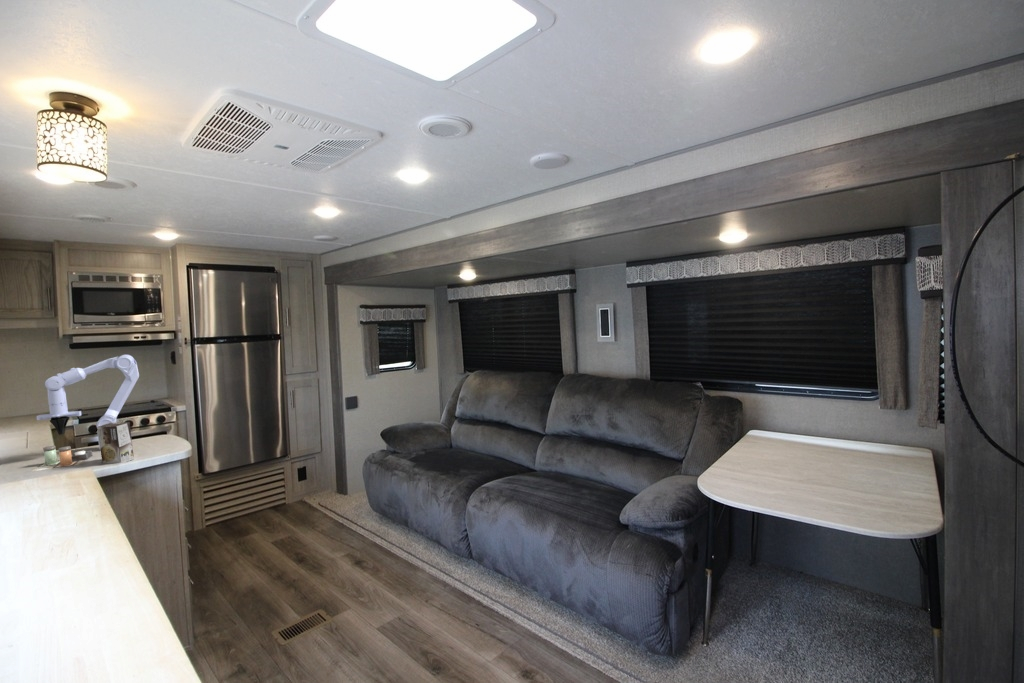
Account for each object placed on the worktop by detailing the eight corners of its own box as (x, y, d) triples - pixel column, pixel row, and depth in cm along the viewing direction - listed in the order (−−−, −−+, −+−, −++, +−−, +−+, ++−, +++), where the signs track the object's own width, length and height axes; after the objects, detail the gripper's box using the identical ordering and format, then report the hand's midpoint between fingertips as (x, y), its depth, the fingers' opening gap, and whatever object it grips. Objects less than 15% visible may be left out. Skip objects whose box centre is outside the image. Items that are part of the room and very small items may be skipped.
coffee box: (135, 458, 204) (130, 421, 202) (121, 464, 197) (116, 426, 196) (115, 459, 204) (111, 422, 203) (101, 464, 198) (96, 426, 197)
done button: (87, 456, 207) (86, 450, 206) (84, 459, 203) (83, 452, 203) (77, 458, 205) (76, 451, 205) (74, 460, 202) (73, 453, 202)
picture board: (92, 457, 208) (91, 450, 208) (79, 466, 196) (78, 459, 196) (45, 463, 202) (44, 456, 202) (28, 473, 190) (27, 466, 190)
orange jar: (74, 462, 200) (72, 445, 199) (70, 464, 196) (68, 447, 196) (62, 463, 198) (60, 447, 198) (58, 466, 195) (56, 449, 195)
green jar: (59, 461, 202) (57, 445, 201) (55, 463, 199) (52, 447, 198) (47, 462, 200) (45, 446, 200) (43, 465, 197) (41, 449, 196)
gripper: (31, 407, 201) (35, 438, 203) (75, 403, 207) (78, 433, 208) (39, 404, 208) (43, 434, 209) (82, 400, 214) (85, 429, 215)
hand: (61, 434), depth 209 cm, fingers closed
